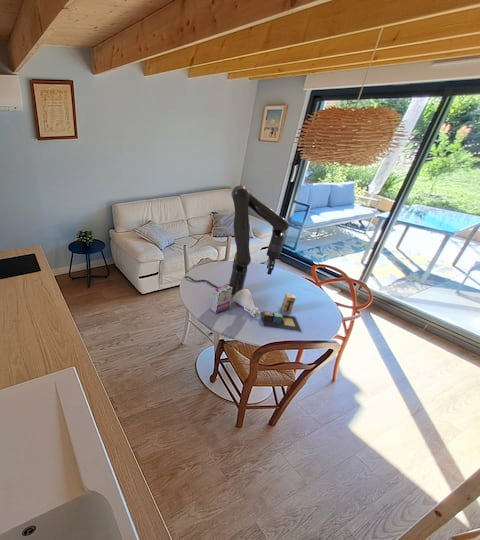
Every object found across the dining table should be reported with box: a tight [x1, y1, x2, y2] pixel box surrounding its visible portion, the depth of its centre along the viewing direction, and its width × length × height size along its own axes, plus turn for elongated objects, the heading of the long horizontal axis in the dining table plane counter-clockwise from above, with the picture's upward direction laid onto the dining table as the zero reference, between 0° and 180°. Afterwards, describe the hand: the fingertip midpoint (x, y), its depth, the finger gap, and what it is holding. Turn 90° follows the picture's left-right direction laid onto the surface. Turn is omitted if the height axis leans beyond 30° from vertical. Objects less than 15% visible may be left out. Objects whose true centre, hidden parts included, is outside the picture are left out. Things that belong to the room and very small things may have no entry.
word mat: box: [260, 311, 302, 332], centre depth 173 cm, size 20×14×1 cm
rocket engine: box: [232, 288, 261, 318], centre depth 183 cm, size 12×12×18 cm
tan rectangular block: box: [280, 292, 297, 314], centre depth 180 cm, size 5×5×12 cm
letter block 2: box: [272, 311, 283, 323], centre depth 173 cm, size 4×4×5 cm
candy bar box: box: [210, 284, 233, 314], centre depth 181 cm, size 11×5×16 cm, turn 117°
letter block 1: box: [261, 310, 273, 322], centre depth 174 cm, size 4×4×5 cm
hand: (268, 271), depth 187 cm, fingers open, 8 cm apart
